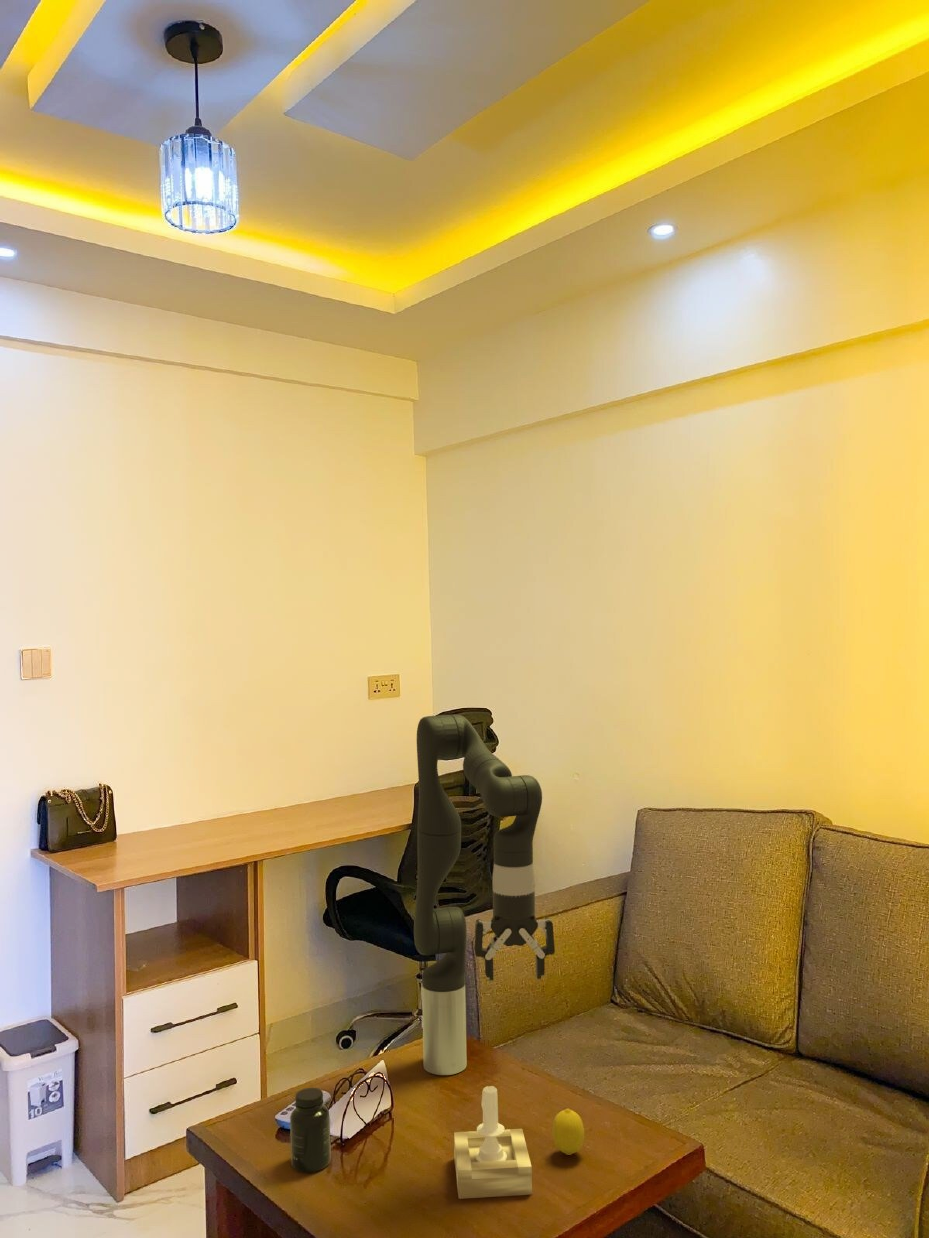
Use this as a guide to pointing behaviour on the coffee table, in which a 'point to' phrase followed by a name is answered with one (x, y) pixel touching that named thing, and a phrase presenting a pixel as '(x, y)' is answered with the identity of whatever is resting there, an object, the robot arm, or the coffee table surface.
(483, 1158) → the candle
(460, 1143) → the birch plinth
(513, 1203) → the coffee table surface
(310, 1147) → the supplement bottle
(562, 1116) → the lemon
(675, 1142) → the coffee table surface
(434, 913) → the robot arm
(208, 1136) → the coffee table surface
